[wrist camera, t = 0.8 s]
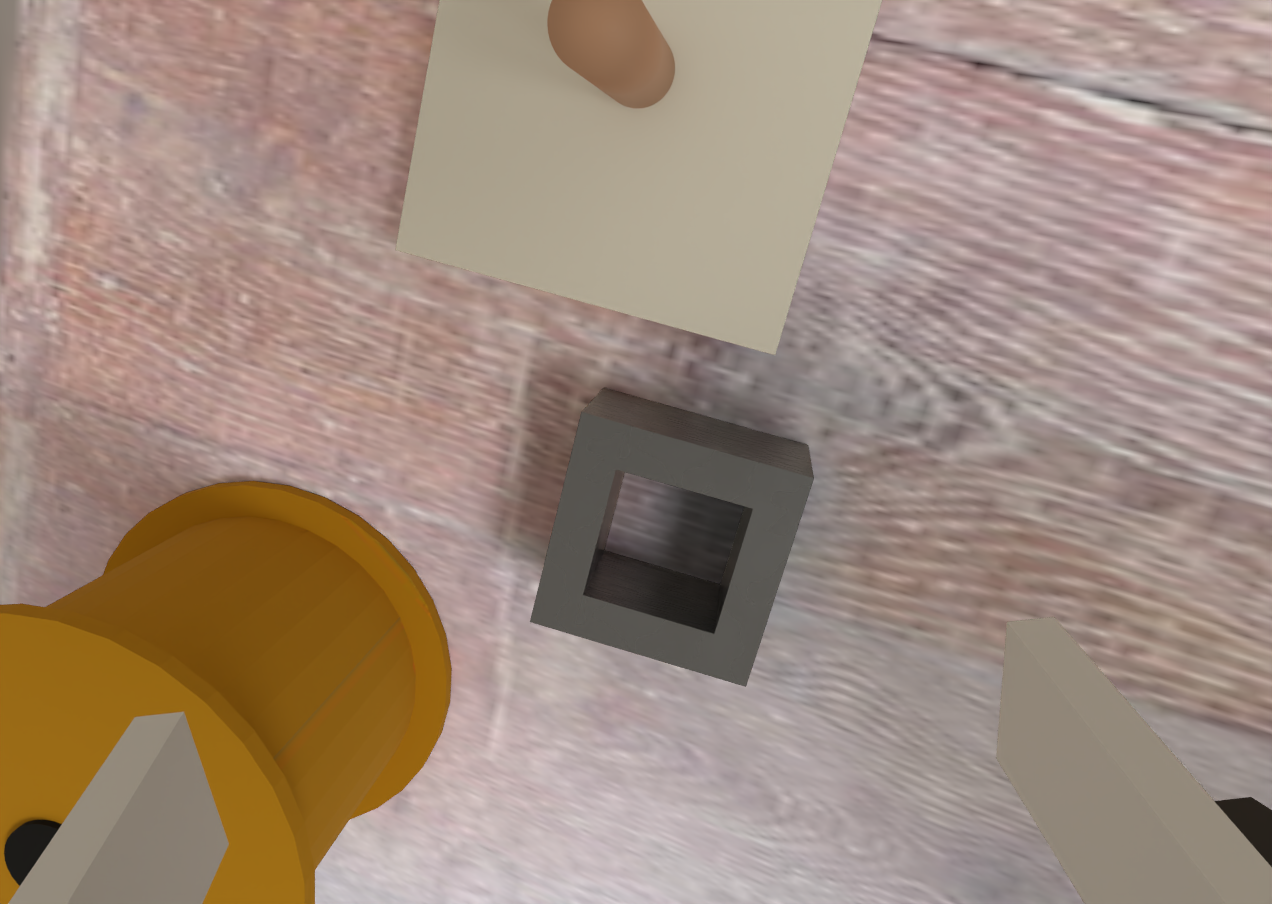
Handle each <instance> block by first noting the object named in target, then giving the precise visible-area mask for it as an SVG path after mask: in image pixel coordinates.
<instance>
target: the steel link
mask: <svg viewBox="0 0 1272 904" xmlns="http://www.w3.org/2000/svg"><path fill="white" fill-rule="evenodd" d="M625 472H627V473H630V474H634V475H637V476H641V477H644V478H648V479H651V480H655V481H658V482H662V483H665V484H668V485H672V486H675V487H679V488H682V489H686V490H689V491H693V492H696V493H700V494H703V495H707V496H710V497H714V498H717V499H721V500H724V501H728V502H731V503H734V504H738V505H741V506H744V509H743V513H742V516H741V519H740V522H739V526H738V529H737V532H736V535H735V539H734V542H733V545H732V548H731V552H730V555H729V558H728V561H727V565H726V568H725V571H724V574H723V578H722V581H721V584H717V583H713V582H710V581H706V580H703V579H700V578H696V577H693V576H689V575H686V574H683V573H679V572H676V571H672V570H669V569H666V568H662V567H659V566H655V565H652V564H649V563H645V562H642V561H638V560H635V559H631V558H628V557H625V556H621V555H618V554H614V553H611V552H608V551H604V549H605V545H606V541H607V538H608V534H609V530H610V526H611V523H612V519H613V515H614V511H615V507H616V504H617V500H618V496H619V492H620V489H621V485H622V481H623V477H624V473H625ZM813 480H814V475H813V470H812V464H811V459H810V453H809V447H808V445H806V444H802V443H799V442H795V441H792V440H788V439H785V438H781V437H778V436H774V435H771V434H767V433H763V432H760V431H756V430H753V429H749V428H746V427H742V426H739V425H735V424H732V423H728V422H724V421H721V420H717V419H714V418H710V417H707V416H703V415H700V414H696V413H693V412H689V411H686V410H682V409H678V408H675V407H671V406H668V405H664V404H661V403H657V402H654V401H650V400H647V399H643V398H639V397H636V396H632V395H629V394H625V393H622V392H618V391H615V390H611V389H608V388H603V389H602V390H601V391H600V392H599V393H598V394H597V396H596V397H595V398H594V399H593V400H592V401H591V402H590V403H589V404H588V406H587V407H586V408H585V409H584V410H583V411H582V412H581V416H580V420H579V425H578V429H577V433H576V437H575V441H574V445H573V449H572V453H571V457H570V461H569V465H568V469H567V473H566V477H565V482H564V486H563V490H562V494H561V498H560V502H559V506H558V510H557V514H556V518H555V522H554V526H553V530H552V534H551V538H550V543H549V547H548V551H547V555H546V559H545V563H544V567H543V571H542V575H541V579H540V583H539V587H538V591H537V595H536V600H535V604H534V608H533V612H532V616H531V620H530V622H532V623H536V624H539V625H542V626H546V627H549V628H552V629H556V630H559V631H562V632H566V633H569V634H572V635H576V636H579V637H582V638H586V639H589V640H592V641H596V642H599V643H602V644H606V645H609V646H612V647H615V648H619V649H622V650H625V651H629V652H632V653H635V654H639V655H642V656H645V657H649V658H652V659H655V660H659V661H662V662H665V663H669V664H672V665H675V666H679V667H682V668H685V669H689V670H692V671H695V672H699V673H702V674H705V675H709V676H712V677H715V678H719V679H722V680H725V681H729V682H732V683H735V684H739V685H742V686H745V687H746V685H747V681H748V678H749V675H750V672H751V669H752V666H753V663H754V660H755V657H756V654H757V651H758V648H759V645H760V642H761V639H762V636H763V633H764V629H765V626H766V623H767V620H768V617H769V614H770V611H771V608H772V605H773V602H774V599H775V596H776V593H777V590H778V587H779V584H780V581H781V577H782V574H783V571H784V568H785V565H786V562H787V559H788V556H789V553H790V550H791V547H792V544H793V541H794V538H795V535H796V532H797V529H798V525H799V522H800V519H801V516H802V513H803V510H804V507H805V504H806V501H807V498H808V495H809V492H810V489H811V486H812V483H813Z"/></svg>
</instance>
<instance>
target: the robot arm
mask: <svg viewBox="0 0 1272 904" xmlns="http://www.w3.org/2000/svg"><path fill="white" fill-rule="evenodd" d="M996 759H997V760H998V762H999V764H1000V765H1001V767H1002V769H1003V770H1004V772H1005V773H1006V775H1007V777H1008V778H1009V780H1010V782H1011V783H1012V785H1013V787H1014V788H1015V790H1016V792H1017V793H1018V795H1019V796H1020V798H1021V800H1022V801H1023V803H1024V805H1025V806H1026V808H1027V810H1028V811H1029V813H1030V815H1031V816H1032V818H1033V820H1034V821H1035V823H1036V824H1037V826H1038V828H1039V829H1040V831H1041V833H1042V834H1043V836H1044V838H1045V839H1046V841H1047V843H1048V844H1049V846H1050V847H1051V849H1052V851H1053V852H1054V854H1055V856H1056V857H1057V859H1058V861H1059V862H1060V864H1061V866H1062V867H1063V869H1064V871H1065V872H1066V874H1067V875H1068V877H1069V879H1070V880H1071V882H1072V884H1073V885H1074V887H1075V889H1076V890H1077V892H1078V894H1079V895H1080V897H1081V898H1082V900H1083V902H1084V903H1085V904H1272V810H1271V809H1269V808H1267V807H1266V806H1264V805H1263V804H1261V803H1260V802H1258V801H1257V800H1255V799H1253V798H1252V797H1247V798H1239V799H1230V800H1221V801H1214V800H1213V799H1212V798H1211V797H1210V796H1209V795H1208V793H1207V792H1206V791H1205V790H1204V789H1203V788H1202V787H1201V785H1200V784H1199V783H1198V782H1197V781H1196V780H1195V779H1194V777H1193V776H1192V775H1191V774H1190V773H1189V772H1188V770H1187V769H1186V768H1185V767H1184V766H1183V765H1182V764H1181V762H1180V761H1179V760H1178V759H1177V758H1176V757H1175V755H1174V754H1173V753H1172V752H1171V751H1170V750H1169V749H1168V747H1167V746H1166V745H1165V744H1164V743H1163V742H1162V741H1161V739H1160V738H1159V737H1158V736H1157V735H1156V734H1155V732H1154V731H1153V730H1152V729H1151V728H1150V727H1149V726H1148V724H1147V723H1146V722H1145V721H1144V720H1143V719H1142V718H1141V716H1140V715H1139V714H1138V713H1137V712H1136V711H1135V709H1134V708H1133V707H1132V706H1131V705H1130V704H1129V703H1128V701H1127V700H1126V699H1125V698H1124V697H1123V696H1122V695H1121V693H1120V692H1119V691H1118V690H1117V689H1116V688H1115V686H1114V685H1113V684H1112V683H1111V682H1110V681H1109V680H1108V678H1107V677H1106V676H1105V675H1104V674H1103V673H1102V672H1101V670H1100V669H1099V668H1098V667H1097V666H1096V665H1095V663H1094V662H1093V661H1092V660H1091V659H1090V658H1089V657H1088V655H1087V654H1086V653H1085V652H1084V651H1083V650H1082V649H1081V647H1080V646H1079V645H1078V644H1077V643H1076V642H1075V640H1074V639H1073V638H1072V637H1071V636H1070V635H1069V634H1068V632H1067V631H1066V630H1065V629H1064V628H1063V627H1062V626H1061V624H1060V623H1059V622H1058V621H1057V620H1056V619H1055V617H1049V618H1039V619H1030V620H1021V621H1012V622H1007V628H1006V640H1005V653H1004V665H1003V678H1002V691H1001V703H1000V716H999V729H998V741H997V754H996ZM228 845H229V843H228V840H227V837H226V834H225V831H224V828H223V825H222V822H221V819H220V816H219V813H218V810H217V807H216V805H215V802H214V799H213V796H212V793H211V790H210V787H209V784H208V781H207V778H206V775H205V772H204V769H203V766H202V763H201V760H200V758H199V755H198V752H197V749H196V746H195V743H194V740H193V737H192V734H191V731H190V728H189V725H188V722H187V719H186V716H185V714H184V712H176V713H167V714H158V715H149V716H140V717H135V718H134V719H133V721H132V722H131V723H130V725H129V726H128V728H127V729H126V731H125V732H124V734H123V735H122V737H121V738H120V740H119V741H118V743H117V744H116V746H115V747H114V748H113V750H112V751H111V753H110V754H109V756H108V757H107V759H106V760H105V762H104V763H103V765H102V766H101V768H100V769H99V771H98V772H97V774H96V775H95V776H94V778H93V779H92V781H91V782H90V784H89V785H88V787H87V788H86V790H85V791H84V793H83V794H82V796H81V797H80V799H79V800H78V801H77V803H76V804H75V806H74V807H73V809H72V810H71V812H70V813H69V815H68V816H67V818H66V819H65V821H64V822H63V824H62V825H61V826H60V828H59V829H58V831H57V832H56V834H55V835H54V837H53V838H52V840H51V841H50V843H49V844H48V846H47V847H46V849H45V850H44V852H43V853H42V854H41V856H40V857H39V859H38V860H37V862H36V863H35V865H34V866H33V868H32V869H31V871H30V872H29V874H28V875H27V877H26V878H25V879H24V881H23V882H22V884H21V885H20V887H19V888H18V890H17V891H16V893H15V894H14V896H13V897H12V899H11V900H10V902H9V903H8V904H202V903H203V901H204V899H205V896H206V894H207V892H208V890H209V888H210V885H211V883H212V881H213V879H214V876H215V874H216V872H217V870H218V867H219V865H220V863H221V861H222V858H223V856H224V854H225V852H226V850H227V847H228Z"/></svg>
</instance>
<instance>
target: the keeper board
mask: <svg viewBox="0 0 1272 904" xmlns="http://www.w3.org/2000/svg"><path fill="white" fill-rule="evenodd" d="M881 3H882V0H439V6H438V12H437V17H436V23H435V29H434V34H433V40H432V46H431V51H430V57H429V63H428V68H427V74H426V79H425V85H424V91H423V96H422V102H421V108H420V113H419V119H418V125H417V130H416V136H415V142H414V147H413V153H412V159H411V164H410V170H409V175H408V181H407V187H406V192H405V198H404V204H403V209H402V215H401V221H400V226H399V232H398V238H397V243H396V249H395V250H396V251H400V252H404V253H407V254H411V255H414V256H418V257H422V258H425V259H429V260H433V261H436V262H440V263H443V264H447V265H451V266H454V267H458V268H461V269H465V270H469V271H472V272H476V273H480V274H483V275H487V276H490V277H494V278H498V279H501V280H505V281H508V282H512V283H516V284H519V285H523V286H527V287H530V288H534V289H537V290H541V291H545V292H548V293H552V294H555V295H559V296H563V297H566V298H570V299H574V300H577V301H581V302H584V303H588V304H592V305H595V306H599V307H602V308H606V309H610V310H613V311H617V312H621V313H624V314H628V315H631V316H635V317H639V318H642V319H646V320H649V321H653V322H657V323H660V324H664V325H668V326H671V327H675V328H678V329H682V330H686V331H689V332H693V333H696V334H700V335H704V336H707V337H711V338H715V339H718V340H722V341H725V342H729V343H733V344H736V345H740V346H743V347H747V348H751V349H754V350H758V351H762V352H765V353H769V354H772V355H775V354H776V350H777V347H778V344H779V340H780V337H781V334H782V330H783V327H784V324H785V320H786V317H787V314H788V311H789V307H790V304H791V301H792V297H793V294H794V291H795V287H796V284H797V281H798V277H799V274H800V271H801V267H802V264H803V261H804V258H805V254H806V251H807V248H808V244H809V241H810V238H811V234H812V231H813V228H814V224H815V221H816V218H817V215H818V211H819V208H820V205H821V201H822V198H823V195H824V191H825V188H826V185H827V181H828V178H829V175H830V171H831V168H832V165H833V162H834V158H835V155H836V152H837V148H838V145H839V142H840V138H841V135H842V132H843V128H844V125H845V122H846V119H847V115H848V112H849V109H850V105H851V102H852V99H853V95H854V92H855V89H856V85H857V82H858V79H859V75H860V72H861V69H862V66H863V62H864V59H865V56H866V52H867V49H868V46H869V42H870V39H871V36H872V32H873V29H874V26H875V22H876V19H877V16H878V13H879V9H880V6H881Z"/></svg>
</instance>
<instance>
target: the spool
mask: <svg viewBox="0 0 1272 904" xmlns="http://www.w3.org/2000/svg"><path fill="white" fill-rule="evenodd" d="M451 669H452V668H451V662H450V656H449V650H448V644H447V638H446V633H445V631H444V628H443V625H442V623H441V620H440V617H439V615H438V612H437V609H436V607H435V604H434V601H433V599H432V598H431V596H430V595H429V593H428V591H427V590H426V588H425V586H424V585H423V583H422V581H421V580H420V578H419V576H418V575H417V573H416V571H415V570H414V568H413V567H412V566H411V565H410V564H409V563H408V561H407V560H406V559H405V558H404V557H403V556H402V555H401V553H400V552H399V551H398V550H397V549H396V548H395V547H394V546H393V544H392V543H391V542H390V541H389V540H388V539H387V538H386V537H384V536H383V535H382V534H381V533H379V532H378V531H377V530H376V529H374V528H373V527H372V526H371V525H369V524H368V523H367V522H366V521H364V520H363V519H362V518H361V517H359V516H358V515H356V514H354V513H352V512H350V511H349V510H347V509H345V508H343V507H341V506H339V505H338V504H336V503H334V502H332V501H330V500H329V499H327V498H325V497H322V496H319V495H316V494H313V493H310V492H307V491H304V490H301V489H298V488H295V487H292V486H288V485H280V484H273V483H265V482H258V481H245V482H231V483H218V484H215V485H211V486H208V487H204V488H201V489H197V490H194V491H190V492H187V493H185V494H183V495H181V496H179V497H177V498H175V499H173V500H171V501H169V502H168V503H166V504H164V505H162V506H160V507H159V508H157V509H155V510H153V511H152V512H150V513H148V514H147V515H146V516H145V517H144V518H143V519H142V520H141V521H140V522H139V523H137V524H136V525H135V526H134V527H133V528H132V529H131V530H130V531H129V532H128V533H127V534H126V535H125V536H124V538H123V539H122V541H121V542H120V544H119V545H118V547H117V548H116V550H115V551H114V553H113V554H112V556H111V557H110V559H109V560H108V563H107V566H106V568H105V571H104V574H103V576H101V577H99V578H97V579H95V580H94V581H92V582H90V583H88V584H86V585H85V586H83V587H81V588H79V589H77V590H76V591H74V592H72V593H70V594H68V595H67V596H65V597H63V598H61V599H59V600H57V601H56V602H54V603H52V604H50V605H48V606H47V607H40V606H33V605H26V604H9V605H0V904H8V903H9V902H10V900H11V899H12V897H13V896H14V894H15V893H16V891H17V890H18V888H19V887H20V885H21V884H22V882H23V881H24V879H25V878H26V877H27V875H28V874H29V872H30V871H31V869H32V868H33V866H34V865H35V863H36V862H37V860H38V859H39V857H40V856H41V854H42V853H43V852H44V850H45V849H46V847H47V846H48V844H49V843H50V841H51V840H52V838H53V837H54V835H55V834H56V832H57V831H58V829H59V828H60V826H61V825H62V824H63V822H64V821H65V819H66V818H67V816H68V815H69V813H70V812H71V810H72V809H73V807H74V806H75V804H76V803H77V801H78V800H79V799H80V797H81V796H82V794H83V793H84V791H85V790H86V788H87V787H88V785H89V784H90V782H91V781H92V779H93V778H94V776H95V775H96V774H97V772H98V771H99V769H100V768H101V766H102V765H103V763H104V762H105V760H106V759H107V757H108V756H109V754H110V753H111V751H112V750H113V748H114V747H115V746H116V744H117V743H118V741H119V740H120V738H121V737H122V735H123V734H124V732H125V731H126V729H127V728H128V726H129V725H130V723H131V722H132V721H133V719H134V718H135V717H140V716H149V715H158V714H167V713H176V712H184V714H185V716H186V719H187V722H188V725H189V728H190V731H191V734H192V737H193V740H194V743H195V746H196V749H197V752H198V755H199V758H200V760H201V763H202V766H203V769H204V772H205V775H206V778H207V781H208V784H209V787H210V790H211V793H212V796H213V799H214V802H215V805H216V807H217V810H218V813H219V816H220V819H221V822H222V825H223V828H224V831H225V834H226V837H227V840H228V843H229V845H228V847H227V850H226V852H225V854H224V856H223V858H222V861H221V863H220V865H219V867H218V870H217V872H216V874H215V876H214V879H213V881H212V883H211V885H210V888H209V890H208V892H207V894H206V896H205V899H204V901H203V903H202V904H315V869H316V868H317V866H318V865H319V863H320V862H321V860H322V859H323V857H324V856H325V854H326V853H327V851H328V850H329V849H330V847H331V846H332V844H333V843H334V841H335V840H336V838H337V837H338V835H339V834H340V832H341V831H342V829H343V828H344V827H345V825H346V824H347V822H348V821H349V820H350V819H352V818H355V817H357V816H359V815H362V814H364V813H366V812H369V811H371V810H373V809H376V808H378V807H379V806H381V805H382V804H384V803H385V802H386V801H388V800H389V799H391V798H392V797H393V796H395V795H396V794H398V793H399V792H400V791H402V790H403V789H404V788H405V786H406V785H407V784H408V783H409V782H410V781H411V780H412V779H413V777H414V776H415V775H416V774H417V773H418V772H419V771H420V769H421V768H422V767H423V766H424V764H425V762H426V761H427V759H428V757H429V755H430V753H431V752H432V750H433V748H434V746H435V744H436V742H437V740H438V738H439V736H440V735H441V733H442V730H443V726H444V722H445V719H446V715H447V711H448V707H449V704H450V693H451Z"/></svg>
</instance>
